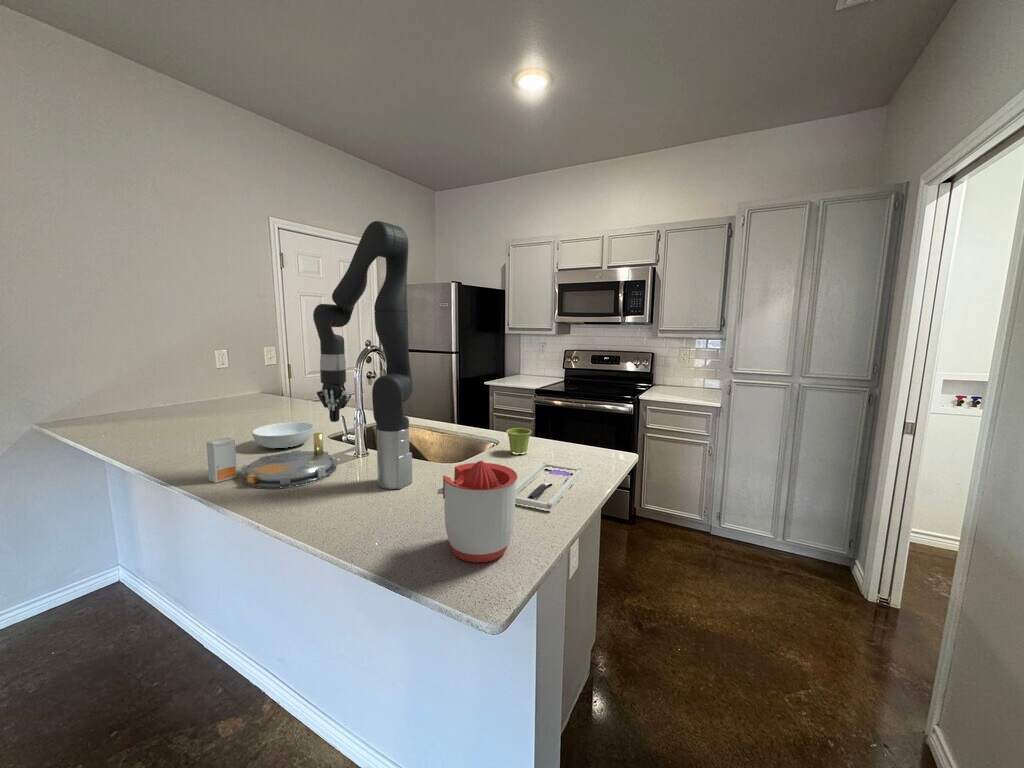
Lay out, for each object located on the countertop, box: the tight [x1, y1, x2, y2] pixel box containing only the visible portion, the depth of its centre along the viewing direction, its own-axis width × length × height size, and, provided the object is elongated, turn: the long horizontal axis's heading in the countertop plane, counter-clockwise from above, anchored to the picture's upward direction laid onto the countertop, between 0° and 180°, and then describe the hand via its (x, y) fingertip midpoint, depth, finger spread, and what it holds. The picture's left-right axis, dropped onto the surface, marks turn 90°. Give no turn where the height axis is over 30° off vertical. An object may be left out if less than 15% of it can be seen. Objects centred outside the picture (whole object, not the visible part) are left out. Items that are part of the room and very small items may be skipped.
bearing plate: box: [242, 466, 337, 489], centre depth 133 cm, size 26×26×1 cm
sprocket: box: [241, 432, 338, 485], centre depth 132 cm, size 27×27×9 cm
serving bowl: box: [251, 421, 315, 449], centre depth 161 cm, size 21×21×7 cm
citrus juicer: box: [436, 460, 518, 563], centre depth 90 cm, size 16×17×20 cm
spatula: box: [527, 470, 571, 500], centre depth 126 cm, size 24×7×2 cm, turn 151°
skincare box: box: [206, 437, 238, 484], centre depth 126 cm, size 6×4×12 cm
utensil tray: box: [515, 462, 583, 509], centre depth 127 cm, size 13×31×2 cm, turn 156°
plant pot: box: [506, 427, 532, 453], centre depth 159 cm, size 9×9×9 cm
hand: (334, 421), depth 136 cm, fingers closed
